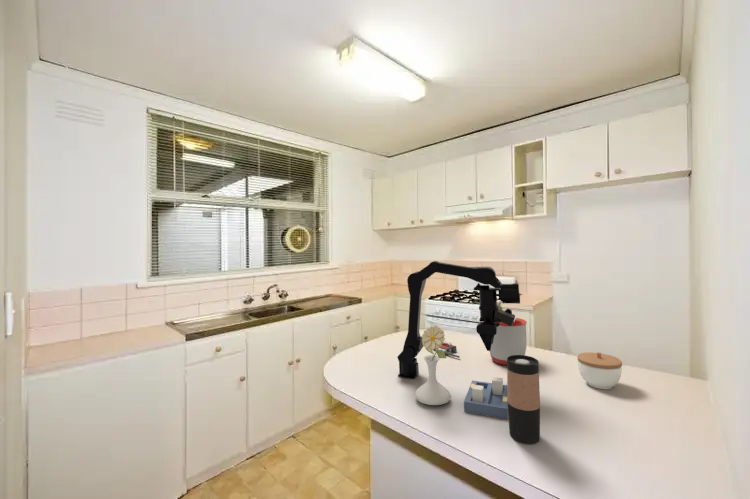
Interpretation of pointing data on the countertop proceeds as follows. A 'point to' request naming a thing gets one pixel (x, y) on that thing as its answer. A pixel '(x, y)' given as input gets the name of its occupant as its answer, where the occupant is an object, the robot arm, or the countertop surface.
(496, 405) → the switch panel
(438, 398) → the flower in vase
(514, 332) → the citrus juicer
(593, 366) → the lidded bowl
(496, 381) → the right tab
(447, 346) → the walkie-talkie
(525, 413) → the travel mug
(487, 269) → the robot arm
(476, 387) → the left tab
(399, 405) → the countertop surface
